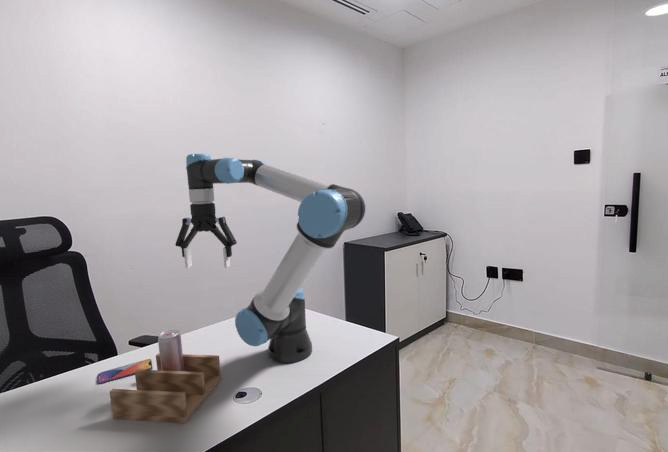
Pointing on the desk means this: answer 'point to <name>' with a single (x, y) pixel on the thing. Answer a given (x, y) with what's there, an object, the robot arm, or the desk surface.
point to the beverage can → (171, 351)
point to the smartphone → (123, 371)
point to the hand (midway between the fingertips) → (208, 266)
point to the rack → (168, 391)
